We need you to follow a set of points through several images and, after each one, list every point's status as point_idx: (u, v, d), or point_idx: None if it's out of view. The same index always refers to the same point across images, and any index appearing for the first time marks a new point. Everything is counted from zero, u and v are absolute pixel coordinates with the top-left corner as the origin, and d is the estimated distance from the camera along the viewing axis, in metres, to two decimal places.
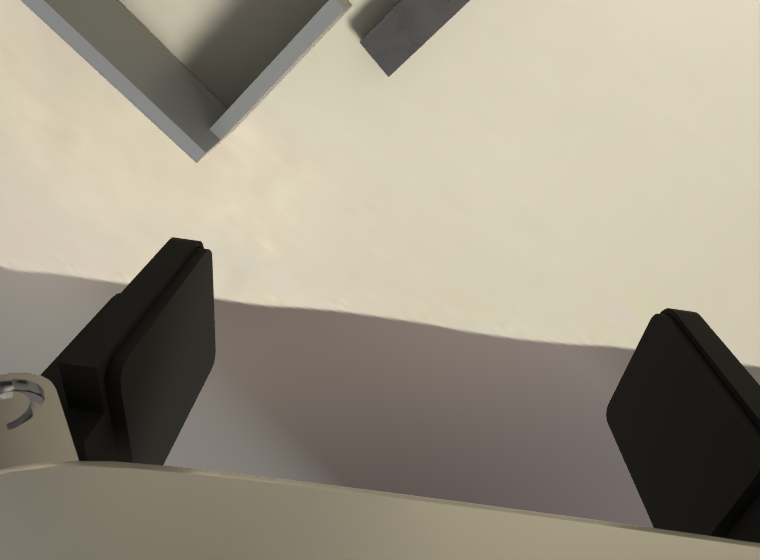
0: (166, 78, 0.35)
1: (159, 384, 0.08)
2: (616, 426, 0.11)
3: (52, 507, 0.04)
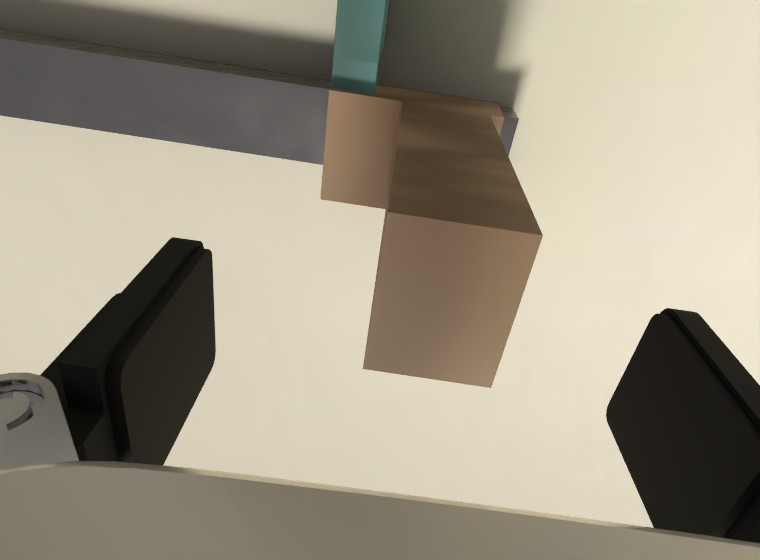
0: None
1: (159, 384, 0.08)
2: (616, 426, 0.11)
3: (52, 509, 0.04)
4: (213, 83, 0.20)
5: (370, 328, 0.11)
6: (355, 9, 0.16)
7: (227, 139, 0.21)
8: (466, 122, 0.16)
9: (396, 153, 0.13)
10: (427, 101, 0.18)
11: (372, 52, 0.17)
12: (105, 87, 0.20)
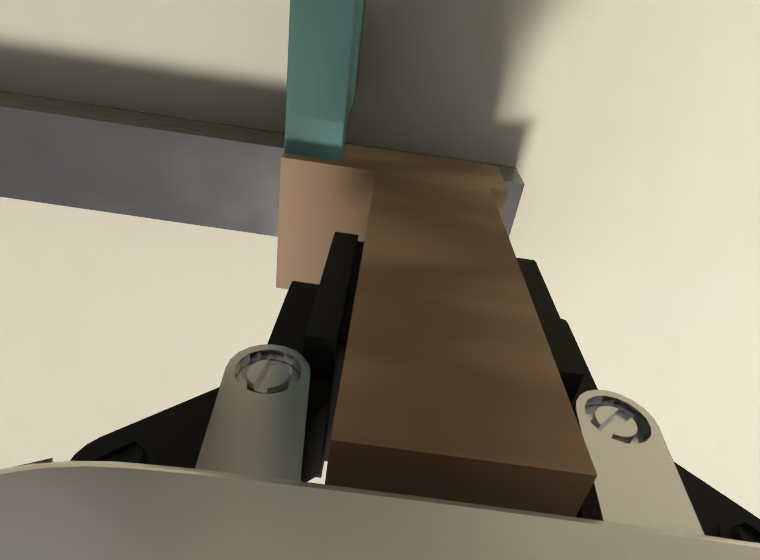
0: None
1: None
2: None
3: (50, 509, 0.04)
4: (140, 141, 0.16)
5: None
6: (311, 54, 0.12)
7: (162, 207, 0.17)
8: (460, 204, 0.12)
9: (360, 279, 0.09)
10: (409, 169, 0.14)
11: (336, 109, 0.13)
12: (4, 145, 0.16)
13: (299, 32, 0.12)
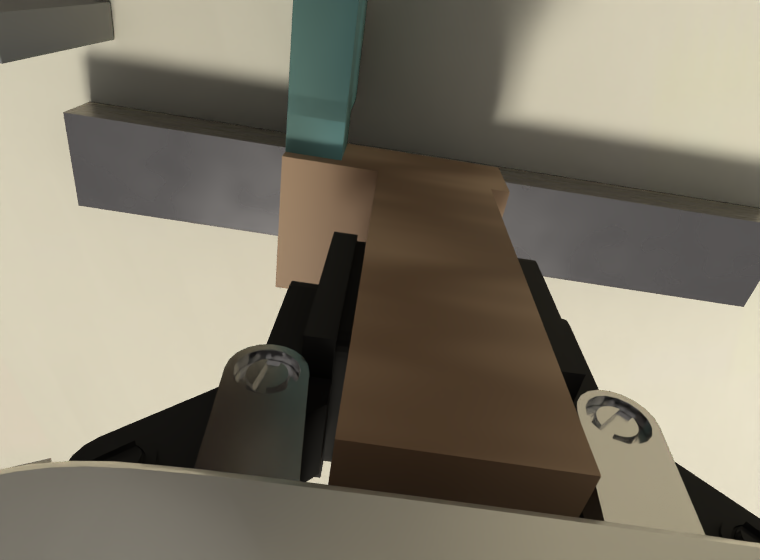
0: None
1: None
2: None
3: (50, 508, 0.04)
4: None
5: None
6: (314, 53, 0.12)
7: None
8: (461, 205, 0.12)
9: (362, 278, 0.09)
10: (410, 169, 0.14)
11: (338, 109, 0.13)
12: (277, 184, 0.16)
13: (301, 31, 0.12)
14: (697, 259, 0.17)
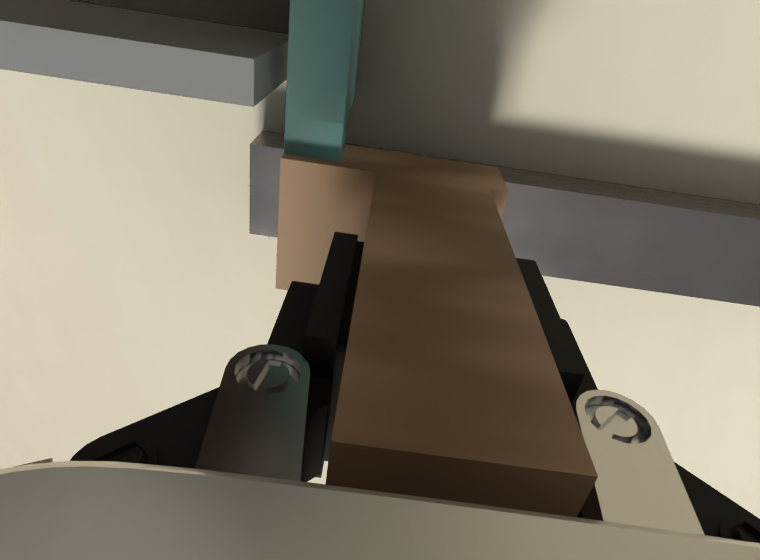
0: None
1: None
2: None
3: (50, 508, 0.04)
4: (594, 209, 0.16)
5: None
6: (311, 55, 0.12)
7: (586, 269, 0.17)
8: (460, 205, 0.12)
9: (359, 280, 0.09)
10: (409, 170, 0.14)
11: (336, 110, 0.13)
12: None
13: (299, 33, 0.12)
14: None
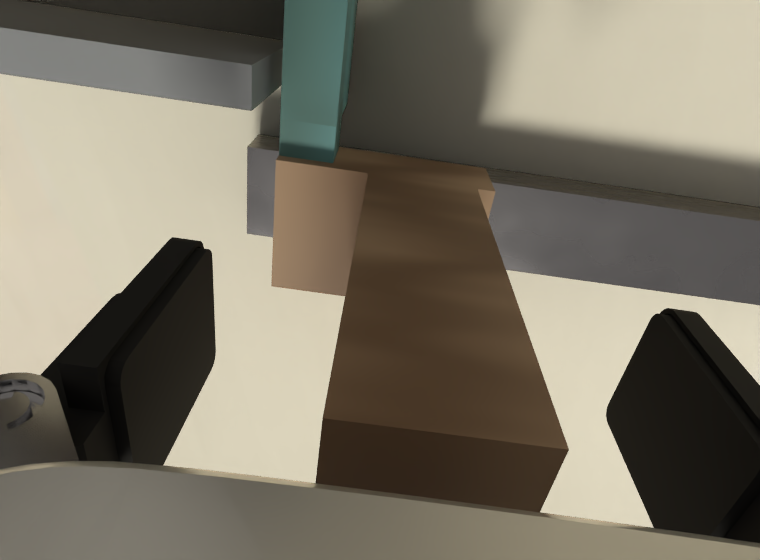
0: None
1: (159, 384, 0.08)
2: (616, 426, 0.11)
3: (52, 507, 0.04)
4: (580, 208, 0.17)
5: None
6: (305, 61, 0.13)
7: (574, 267, 0.18)
8: (448, 204, 0.13)
9: (351, 273, 0.09)
10: (400, 171, 0.14)
11: (329, 113, 0.14)
12: None
13: (293, 40, 0.13)
14: None
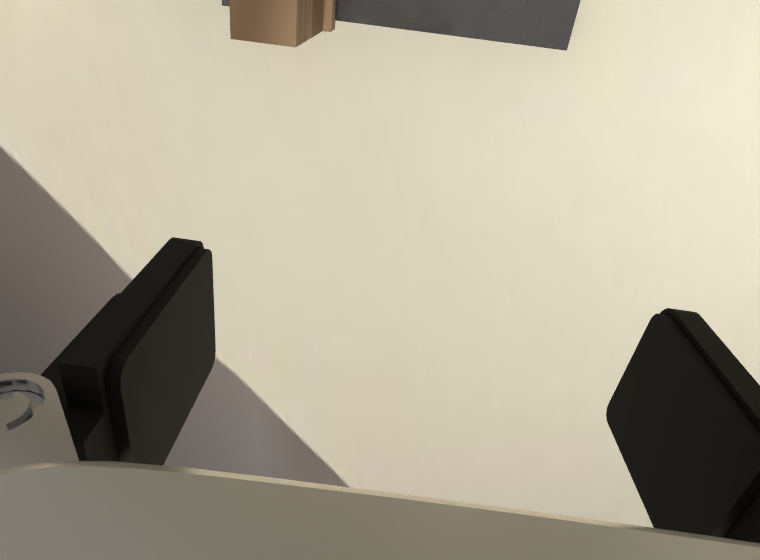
0: None
1: (159, 384, 0.08)
2: (616, 426, 0.11)
3: (52, 508, 0.04)
4: None
5: (230, 10, 0.23)
6: None
7: (396, 20, 0.33)
8: None
9: None
10: None
11: None
12: None
13: None
14: (537, 21, 0.33)
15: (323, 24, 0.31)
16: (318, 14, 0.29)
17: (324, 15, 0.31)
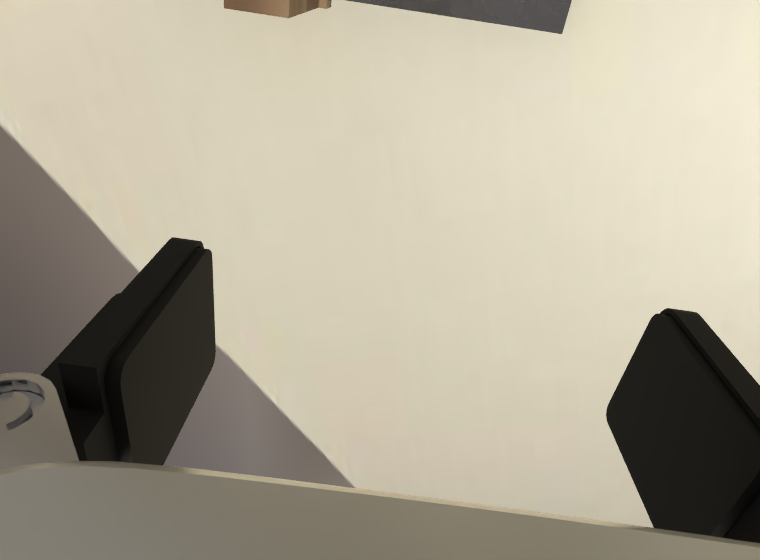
0: None
1: (159, 384, 0.08)
2: (616, 426, 0.11)
3: (50, 508, 0.04)
4: None
5: None
6: None
7: None
8: None
9: None
10: None
11: None
12: None
13: None
14: (533, 3, 0.33)
15: (319, 1, 0.31)
16: None
17: None
